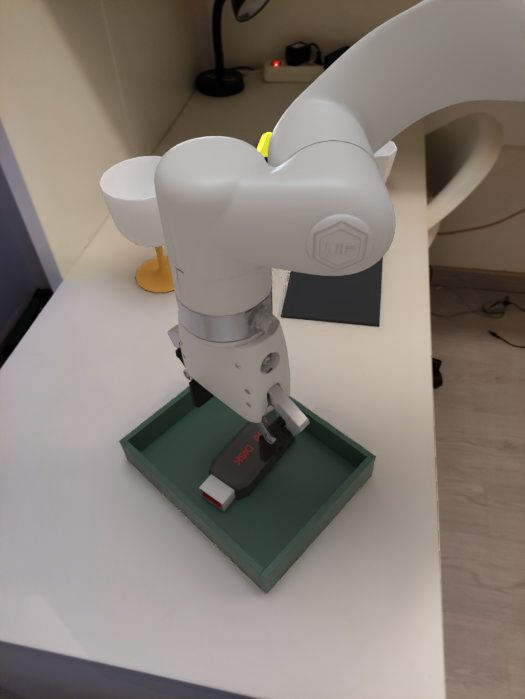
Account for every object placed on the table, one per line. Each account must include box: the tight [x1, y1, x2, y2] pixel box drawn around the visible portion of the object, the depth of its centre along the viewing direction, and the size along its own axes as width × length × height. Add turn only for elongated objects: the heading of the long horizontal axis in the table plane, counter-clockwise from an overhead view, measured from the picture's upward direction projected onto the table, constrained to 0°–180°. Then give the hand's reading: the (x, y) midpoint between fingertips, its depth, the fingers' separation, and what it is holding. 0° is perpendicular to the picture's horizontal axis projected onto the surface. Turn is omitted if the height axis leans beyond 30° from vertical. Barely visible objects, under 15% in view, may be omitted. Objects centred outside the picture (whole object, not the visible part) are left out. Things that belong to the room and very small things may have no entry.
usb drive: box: [199, 415, 295, 512], centre depth 60 cm, size 5×12×3 cm, turn 143°
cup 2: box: [374, 140, 398, 184], centre depth 97 cm, size 7×10×8 cm
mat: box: [280, 256, 384, 327], centre depth 83 cm, size 20×14×1 cm
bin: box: [119, 385, 377, 594], centre depth 60 cm, size 22×17×4 cm
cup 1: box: [98, 155, 175, 294], centre depth 79 cm, size 12×12×17 cm
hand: (238, 424), depth 55 cm, fingers open, 9 cm apart
